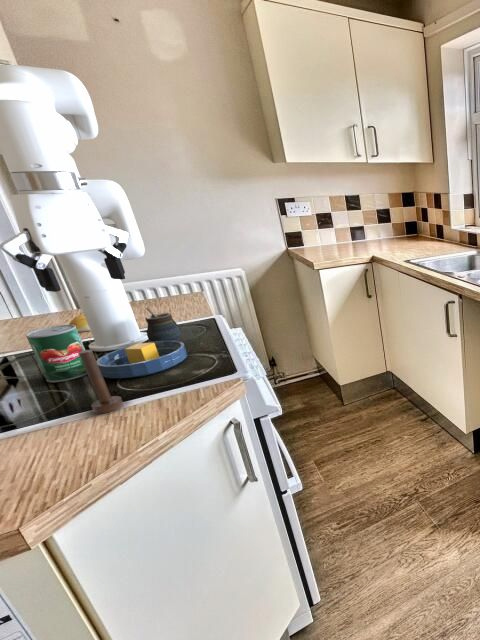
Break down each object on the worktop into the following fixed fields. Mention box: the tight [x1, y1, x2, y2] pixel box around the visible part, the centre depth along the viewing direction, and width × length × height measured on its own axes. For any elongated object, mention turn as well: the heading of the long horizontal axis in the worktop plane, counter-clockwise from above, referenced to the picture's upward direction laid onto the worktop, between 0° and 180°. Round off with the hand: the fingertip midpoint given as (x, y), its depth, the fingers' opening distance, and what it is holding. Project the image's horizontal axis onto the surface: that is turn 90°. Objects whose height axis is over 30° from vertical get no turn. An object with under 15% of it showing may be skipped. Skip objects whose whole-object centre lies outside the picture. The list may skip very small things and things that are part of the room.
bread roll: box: [68, 314, 91, 333], centre depth 130 cm, size 8×9×4 cm
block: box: [125, 342, 159, 364], centre depth 102 cm, size 4×4×4 cm
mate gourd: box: [144, 307, 182, 342], centre depth 114 cm, size 7×8×10 cm
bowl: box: [96, 340, 188, 379], centre depth 101 cm, size 16×16×4 cm
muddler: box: [79, 349, 125, 415], centre depth 80 cm, size 4×4×12 cm
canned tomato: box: [25, 324, 88, 383], centre depth 96 cm, size 8×8×11 cm
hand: (87, 284), depth 77 cm, fingers open, 9 cm apart
